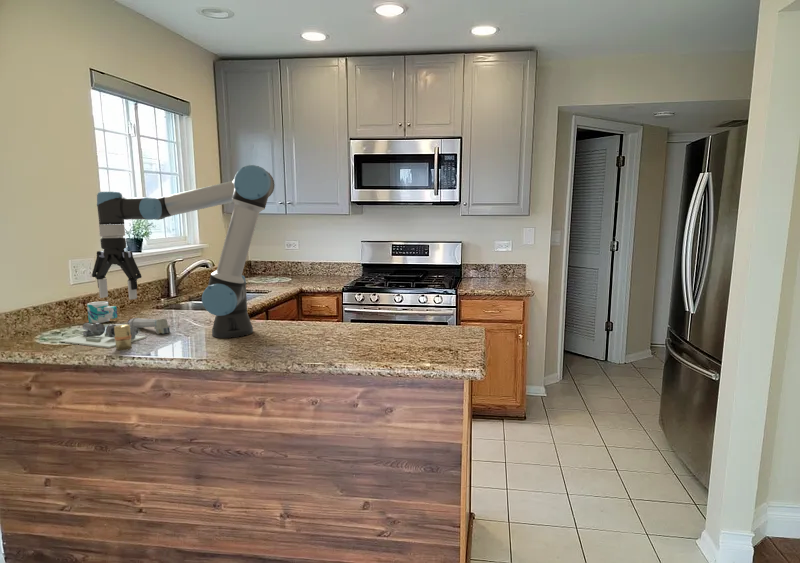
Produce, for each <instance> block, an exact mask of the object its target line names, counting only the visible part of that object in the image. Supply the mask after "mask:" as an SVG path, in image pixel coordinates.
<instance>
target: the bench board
mask: <svg viewBox="0 0 800 563" xmlns="http://www.w3.org/2000/svg"><path fill="white" fill-rule="evenodd" d="M144 339H147V337H146V336H143V335H135V338H133V339H131V343H134V342H136V341H140V340H144ZM58 342H59V343H61V342H65V343H64V344H70V343H72V344H71V345H78V344H79V345H80V346H87V347H88V346H89V347H94V348H95V347H97V348H104V349H111V348H116V342H115V337H108V336H107V335H106V331H105V332H104V333H103V334H102V335H100V336H95V335H94V336H88V337H86V336H83V334H80V335H78V336H72V337H69V338H65V339H61V340H59V341H58Z"/></svg>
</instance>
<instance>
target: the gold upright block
mask: <svg viewBox="0 0 800 563" xmlns="http://www.w3.org/2000/svg"><path fill="white" fill-rule="evenodd" d="M114 331H115V336H114V337H115V342H116V347H115V350H116V351H127V350H130V349H132V348H133V346H132V342H131V332H130V325H128V324H117V325H116V326H114Z"/></svg>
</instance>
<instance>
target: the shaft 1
mask: <svg viewBox="0 0 800 563" xmlns="http://www.w3.org/2000/svg"><path fill="white" fill-rule="evenodd" d="M82 329H83V330H84V331H82V335H83V336H86V337H88V336H94V335H95V336H100V335H102V334H103V333H104V332H105V333H106V327H105V325H104V324H103V323H89V322H85V323H84V324H82Z"/></svg>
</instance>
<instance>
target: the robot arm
mask: <svg viewBox="0 0 800 563" xmlns="http://www.w3.org/2000/svg"><path fill="white" fill-rule="evenodd" d="M274 190H275V180H274V177H273V176H272V174H271V173H270V172H268V171H267V170H266V169H264V167H261V166H259V165H254V164H252V165H251V164H249V165H245V166H242V167H241V168H239V169H238V170H237V172H236V173H235V175H234V178H233V180H230V181H225V182H223V183H222V182H221V183H218V184H214V185H213V184H212V185H209V186H205V187H200V188H194V189H191V190H187V191H183V192H178V193H177V192H176V193H172V194H169V195H165V196H160V197H149V196H145V197H144V196H143V197H140V196H139V197H123V193H121V191H99V192H98V193H97V194H96V207H97V216H98V229H99V231H98V232H99V236H100V237H101V238H100V240H99V241H100V246H101V247H100V248H101V249H102V250H98V251H96V259H95V263H94V266H93V270H92V274H91V277H93V278H95V279H96V280H97V288H98V292H99V294H98V295H99V299H103V298H108V297H109V292H108V281H107V277H106V275H107V274H108V272H109V270H110V268H111V266H112V265H117V266H119V267H120V268H121V270H122V271H123V273H124V274H125V275H126V277H127V278H128V280H127V290H128V300H129V301H130V300H136V299H138V292H137V290H138V280H139V279H142V274H141V271H140V269H139V267H138V265H137V263H136V261H135V258H134V254H133V251H131V250H129V251H125V249H126V248H127V240H126V237H125V236H126V231H125V230H126V228H125V220H128V221H129V220H137V221H139V220H146V221H147V220H148V221H151V220H156V221H159V220H164V219H165V218H169V217H172V216H176V215H181V214H185V213H191V212H194V211H199V210H204V209H208V208H212V207H217V206H222V205H225V204H230V203H231V204H232V203H233V204H234V207H233V210H232V214H231V218H230V220H229V221H230V222H229V226H228V229H227V232H226V236H225V239H224V243H223V246H222V249H221V254H220V257H219V261H218V265H217V267H216V268H217V269H216V270H214V271H213V272H211V273H210V277H209V281H208V284H207V287H206V288H205V289H204V290H203V292H202V295H201V303H202V305H203V307H204V309H205V310H206V311H207V312H208V313H209V314H211V315H213V316H215V317H214V320H213V325H212V328H211V336H212V337H214V338H217V339H218V338H220V339H232V338H231V337H234V338H240V337H239V336H241V337H245V336H244V335H246V336H248V335H247V334H249V335H251V334H253V333H254V327H253V324H252V322H251V321H252V320H251V318H250V316H249V314H248V302H247V301H248V300H247V299H248V298H247V281H246V276H245V275H243V272H244V268H245V265H246V261H247V257H248V253H249V251H250V247H251V243H252V240H253V236H254V233H255V228H256V226H257V222H258V218H259V215H260V213H261V212H262V211H263V210H265V209H266V206H267V203H268V199H269V198H270V197H271V196H272V195H273V193H274ZM252 332H253V333H252ZM250 333H251V334H250Z"/></svg>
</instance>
